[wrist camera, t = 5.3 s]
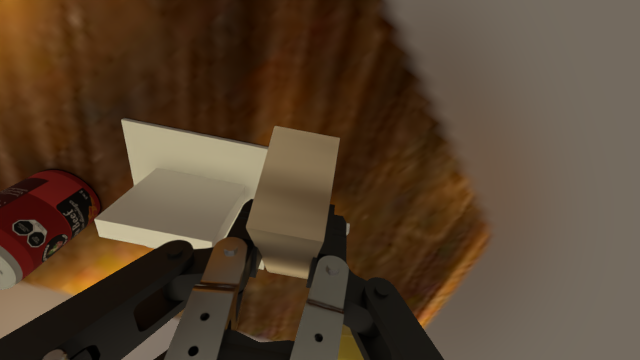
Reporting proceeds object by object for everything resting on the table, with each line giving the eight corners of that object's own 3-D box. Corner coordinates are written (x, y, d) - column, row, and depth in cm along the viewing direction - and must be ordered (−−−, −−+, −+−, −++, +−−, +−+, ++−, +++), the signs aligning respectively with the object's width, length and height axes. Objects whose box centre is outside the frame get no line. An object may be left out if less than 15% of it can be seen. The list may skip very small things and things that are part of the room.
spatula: (215, 114, 11) (174, 214, 9) (398, 149, 11) (393, 254, 9) (259, 232, 26) (247, 278, 24) (335, 246, 26) (328, 293, 24)
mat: (124, 118, 29) (121, 119, 29) (277, 148, 30) (276, 150, 29) (148, 244, 39) (146, 246, 38) (264, 266, 39) (263, 269, 38)
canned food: (98, 229, 38) (15, 300, 29) (35, 200, 36) (-75, 266, 27) (107, 189, 34) (16, 257, 25) (38, 155, 33) (-87, 214, 23)
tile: (156, 167, 32) (94, 218, 24) (245, 185, 32) (211, 242, 24) (158, 183, 33) (99, 236, 25) (244, 200, 33) (212, 258, 25)
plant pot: (314, 329, 45) (306, 401, 37) (311, 285, 40) (300, 358, 32) (381, 333, 44) (388, 409, 36) (386, 289, 39) (395, 365, 31)
